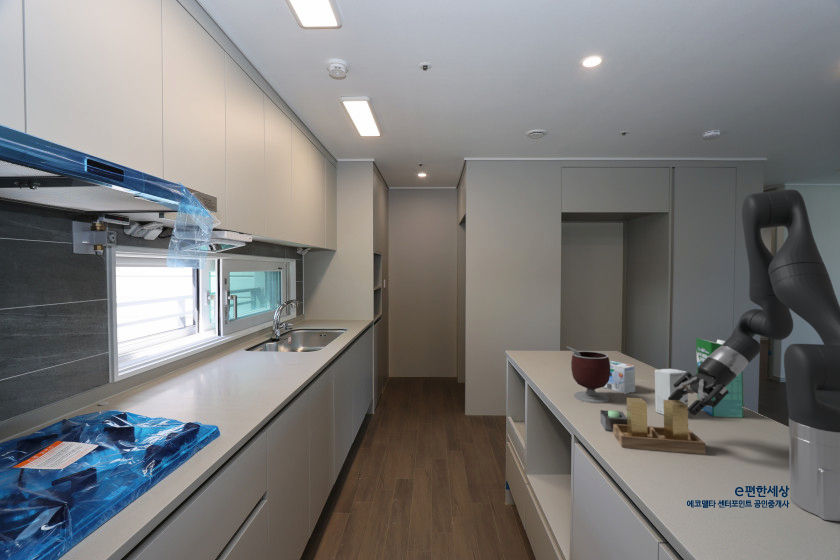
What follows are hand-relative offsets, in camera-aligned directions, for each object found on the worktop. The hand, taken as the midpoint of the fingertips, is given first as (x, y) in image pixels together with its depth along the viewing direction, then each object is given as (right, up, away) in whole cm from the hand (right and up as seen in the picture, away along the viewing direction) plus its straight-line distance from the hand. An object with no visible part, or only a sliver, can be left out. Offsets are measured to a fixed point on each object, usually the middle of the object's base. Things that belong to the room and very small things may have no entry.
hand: (680, 407), depth 100 cm
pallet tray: (-6, -11, +2) cm, 12 cm away
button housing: (-12, -11, +13) cm, 21 cm away
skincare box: (+14, -11, +23) cm, 29 cm away
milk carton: (+30, -10, +23) cm, 39 cm away
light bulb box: (+10, -11, +50) cm, 52 cm away
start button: (-12, -10, +13) cm, 20 cm away
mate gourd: (-6, -11, +41) cm, 42 cm away
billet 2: (-1, -10, 0) cm, 10 cm away
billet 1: (-10, -11, +3) cm, 15 cm away
